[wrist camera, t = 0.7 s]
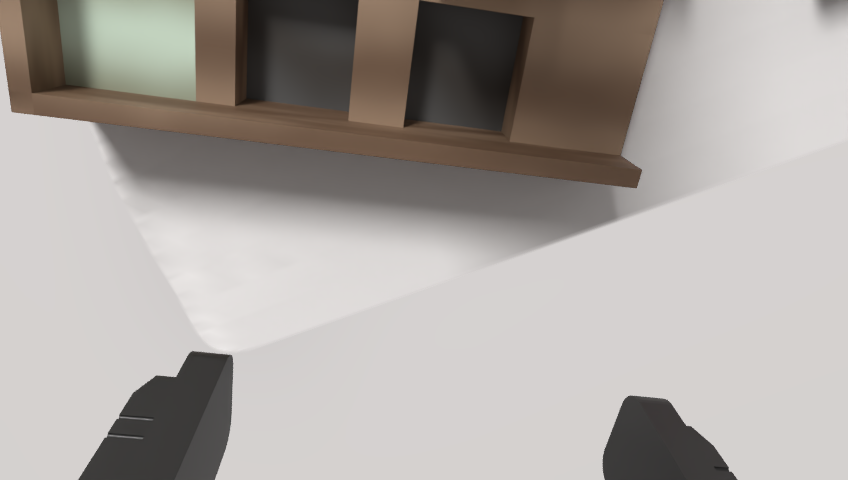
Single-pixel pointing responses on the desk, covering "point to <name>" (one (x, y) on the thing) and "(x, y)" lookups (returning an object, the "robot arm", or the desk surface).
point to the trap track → (350, 75)
